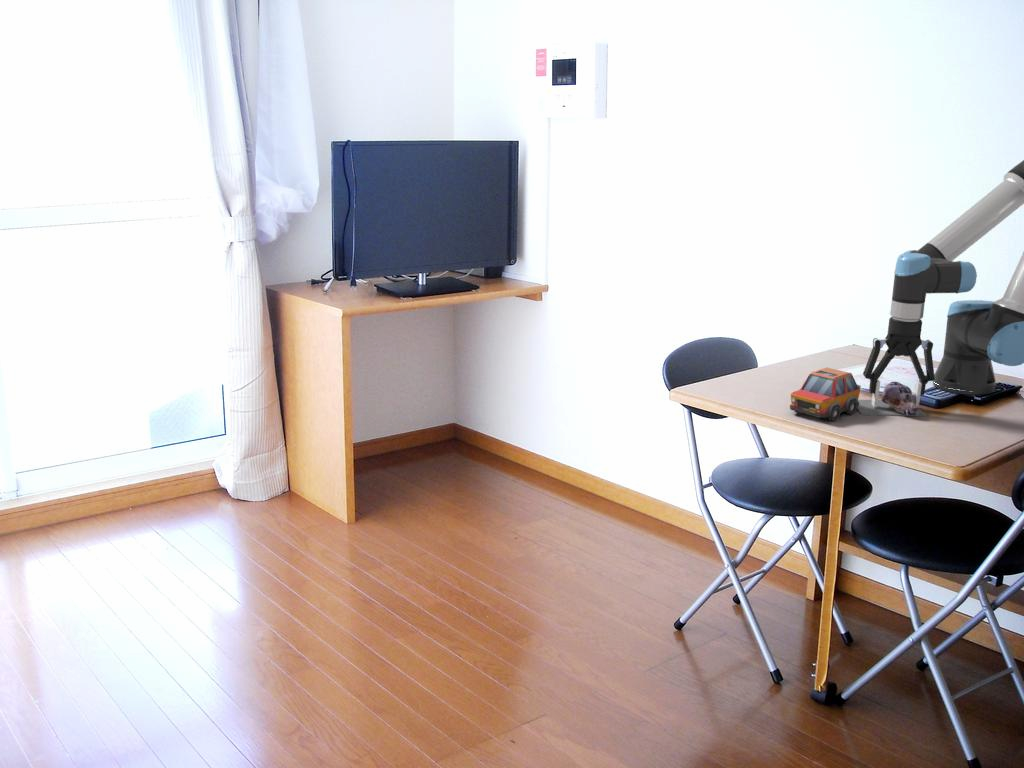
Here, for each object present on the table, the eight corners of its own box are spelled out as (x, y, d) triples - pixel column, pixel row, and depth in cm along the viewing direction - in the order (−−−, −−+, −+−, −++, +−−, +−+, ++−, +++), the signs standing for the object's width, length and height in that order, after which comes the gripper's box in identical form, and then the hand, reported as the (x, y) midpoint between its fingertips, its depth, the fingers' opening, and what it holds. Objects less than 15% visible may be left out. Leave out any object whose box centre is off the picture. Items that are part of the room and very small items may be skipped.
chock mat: (911, 401, 265) (912, 400, 264) (925, 416, 254) (925, 414, 253) (851, 400, 266) (851, 399, 266) (861, 415, 255) (861, 413, 255)
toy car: (783, 414, 256) (786, 375, 254) (823, 400, 267) (826, 362, 264) (824, 425, 248) (827, 385, 245) (864, 410, 258) (867, 372, 255)
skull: (926, 417, 251) (928, 393, 250) (894, 418, 251) (897, 394, 249) (906, 402, 263) (908, 379, 261) (876, 403, 263) (878, 379, 261)
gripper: (947, 315, 255) (935, 403, 262) (856, 313, 257) (846, 400, 263) (957, 323, 248) (945, 413, 254) (863, 320, 250) (853, 409, 256)
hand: (894, 406), depth 259 cm, fingers open, 9 cm apart
